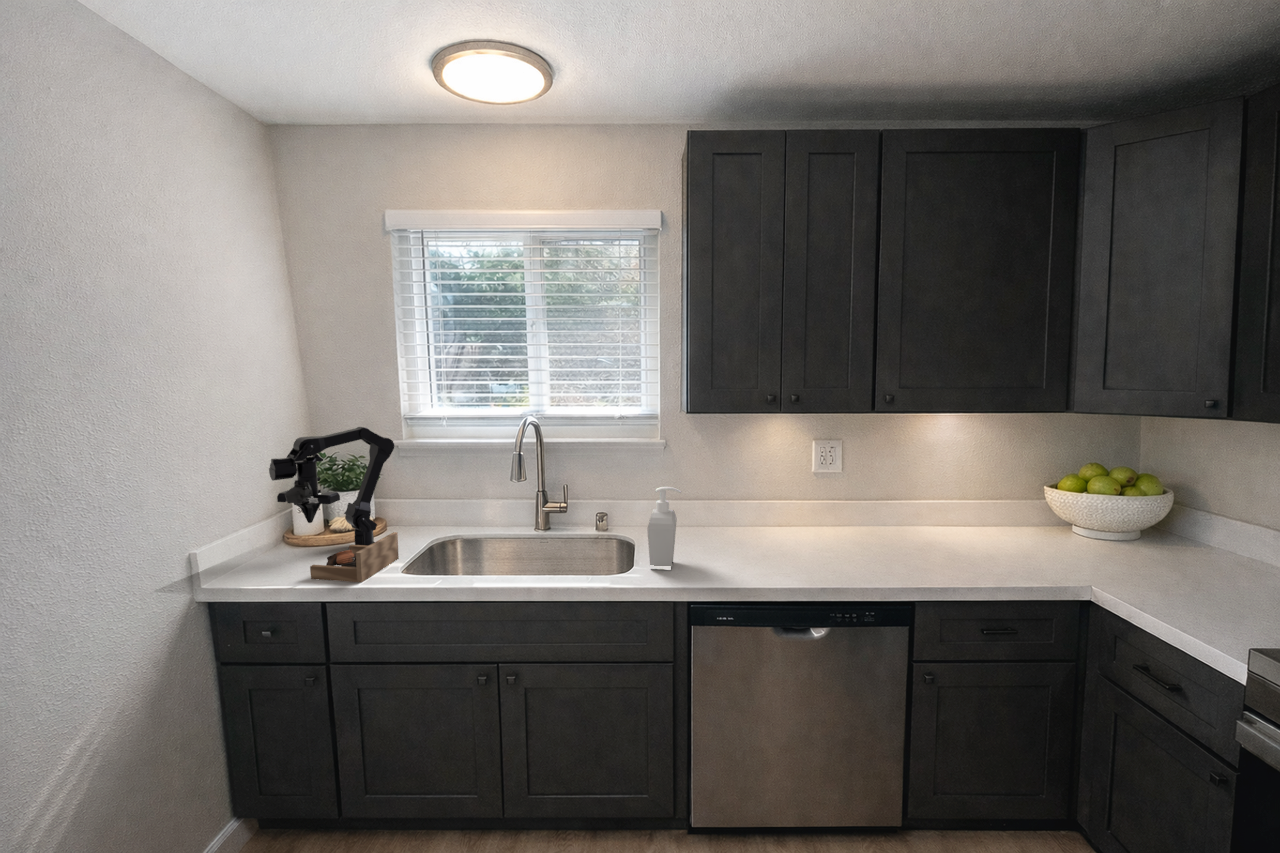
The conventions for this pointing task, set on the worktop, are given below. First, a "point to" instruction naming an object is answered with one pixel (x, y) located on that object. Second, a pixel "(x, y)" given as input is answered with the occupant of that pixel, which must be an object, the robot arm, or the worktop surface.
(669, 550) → the soap bottle
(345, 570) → the walnut bay
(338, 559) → the pottery mug
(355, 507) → the robot arm
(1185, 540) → the worktop surface
